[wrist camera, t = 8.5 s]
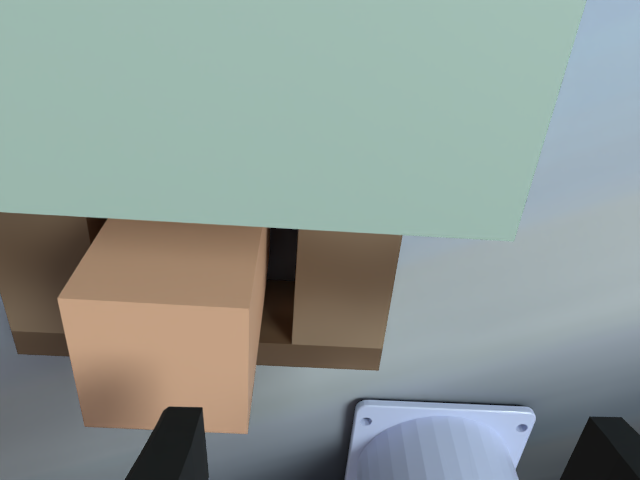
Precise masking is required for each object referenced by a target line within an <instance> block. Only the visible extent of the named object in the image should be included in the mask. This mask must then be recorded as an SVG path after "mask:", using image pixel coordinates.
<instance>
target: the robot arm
mask: <svg viewBox="0 0 640 480" xmlns="http://www.w3.org/2000/svg"><path fill="white" fill-rule="evenodd" d="M364 418H365V419H364ZM535 419H536V417H535V414H534V412H533V410H532V409H531V408H529V407H524V406H501V405H478V404H455V403H432V402H409V401H386V400H363V401H360V402H359V403H358V404H357V405H356V407H355V414H354V420H353V427H352V433H351V440H350V446H349V453H348V459H347V466H346V473H345V479H344V480H519V479H518V476H517V473H516V470H515V469H516V467H517V464H518V462H519V459H520V457H521V454H522V452H523V449H524V447H525V445H526V442H527V440H528V437H529V435H530V432H531V430H532V427H533V425H534V422H535ZM520 424H521V425H520ZM208 478H209V474H208V463H207V452H206V440H205V429H204V418H203V407H172V406H169V407H167V408H166V409H165V410H163V412H162V414H161V416H160V418H159V420H158V422H157V424H156V426H155V428H154V430H153V432H152V433H151V435H150V437H149V439H148V441H147V443H146V444H145V446H144V448H143V450H142V451H141V453H140V455H139V457H138V458H137V460H136V462H135V463H134V465H133V467H132V468H131V470H130V472H129V473H128V475H127V477H126V478H125V480H208ZM560 480H640V435H639V434H638V433H637V432H636V431H635V430H634V429H633V428H632V427H631V426H630V425H629V424H628V423H627V422H626V421H625V420H624V419H623V418H622V417H589V419H588V421H587V423H586V425H585V428H584V430H583V432H582V434H581V436H580V438H579V440H578V442H577V444H576V447H575V449H574V451H573V453H572V455H571V457H570V459H569V461H568V463H567V466H566V468H565V470H564V472H563V474H562V476H561V478H560Z"/></svg>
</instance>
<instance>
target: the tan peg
mask: <svg viewBox="0 0 640 480" xmlns="http://www.w3.org/2000/svg"><path fill="white" fill-rule="evenodd" d="M269 254H270V227H252V226H235V225H217V224H200V223H182V222H165V221H147V220H130V219H112V218H108V219H107V220H106V222H105V224H104V225H103V227H102V228H101V230H100V231H99V233H98V235H97V236H96V238H95V239H94V241H93V242H92V244H91V246H90V247H89V249H88V250H87V252H86V254H85V255H84V257H83V258H82V260H81V261H80V263H79V265H78V266H77V268H76V269H75V271H74V273H73V274H72V276H71V277H70V279H69V280H68V282H67V284H66V285H65V287H64V288H63V290H62V291H61V293H60V295H59V296H58V298H57V300H58V304H59V309H60V314H61V318H62V323H63V327H64V332H65V337H66V341H67V346H68V351H69V355H70V360H71V365H72V369H73V374H74V379H75V383H76V388H77V393H78V397H79V402H80V407H81V411H82V416H83V421H84V425H85V427H103V428H125V429H148V430H154V428H155V426H156V424H157V422H158V420H159V418H160V416H161V414H162V412H163V410H165V409H166V408H167V407H169V406H172V407H203V418H204V429H205V432H215V433H238V434H248V426H249V418H250V410H251V402H252V394H253V386H254V377H255V369H256V361H257V353H258V345H259V337H260V329H261V321H262V313H263V304H264V296H265V288H266V280H267V272H268V264H269Z"/></svg>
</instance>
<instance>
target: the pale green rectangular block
mask: <svg viewBox="0 0 640 480" xmlns="http://www.w3.org/2000/svg"><path fill="white" fill-rule="evenodd" d="M586 1H587V0H0V212H7V213H24V214H42V215H60V216H77V217H95V218H112V219H130V220H147V221H165V222H182V223H200V224H217V225H235V226H252V227H270V228H287V229H305V230H322V231H340V232H357V233H375V234H392V235H410V236H427V237H445V238H462V239H480V240H497V241H514V240H515V236H516V233H517V230H518V226H519V223H520V220H521V216H522V213H523V210H524V206H525V203H526V200H527V196H528V193H529V190H530V186H531V183H532V180H533V176H534V173H535V170H536V167H537V163H538V160H539V157H540V153H541V150H542V147H543V143H544V140H545V137H546V133H547V130H548V127H549V123H550V120H551V117H552V113H553V110H554V107H555V103H556V100H557V97H558V94H559V90H560V87H561V84H562V80H563V77H564V74H565V70H566V67H567V64H568V60H569V57H570V54H571V50H572V47H573V44H574V40H575V37H576V34H577V30H578V27H579V24H580V21H581V17H582V14H583V11H584V7H585V4H586Z"/></svg>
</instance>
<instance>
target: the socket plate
mask: <svg viewBox="0 0 640 480" xmlns="http://www.w3.org/2000/svg"><path fill="white" fill-rule="evenodd" d="M107 219H108V218H95V217H77V216H60V215H42V214H24V213H7V212H0V293H1V297H2V300H3V304H4V307H5V311H6V314H7V318H8V321H9V325H10V328H11V332H12V335H13V339H14V342H15V346H16V349H17V353H18V354H28V355H50V356H70V355H69V351H68V346H67V341H66V337H65V332H64V327H63V323H62V318H61V314H60V309H59V304H58V300H57V298H58V296H59V295H60V293H61V291H62V290H63V288H64V287H65V285H66V284H67V282H68V280H69V279H70V277H71V276H72V274H73V273H74V271H75V269H76V268H77V266H78V265H79V263H80V261H81V260H82V258H83V257H84V255H85V254H86V252H87V250H88V249H89V247H90V246H91V244H92V242H93V241H94V239H95V238H96V236H97V235H98V233H99V231H100V230H101V228H102V227H103V225H104V224H105V222H106V220H107ZM401 240H402V235H392V234H375V233H357V232H340V231H322V230H305V229H298V236H297V253H296V270H295V281H280V280H266V288H265V296H264V304H263V313H262V321H261V329H260V337H259V345H258V353H257V361H256V365H268V366H290V367H312V368H334V369H355V370H377V371H379V365H380V360H381V354H382V348H383V343H384V337H385V331H386V326H387V320H388V314H389V308H390V303H391V297H392V291H393V286H394V280H395V274H396V269H397V263H398V257H399V252H400V246H401Z"/></svg>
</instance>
